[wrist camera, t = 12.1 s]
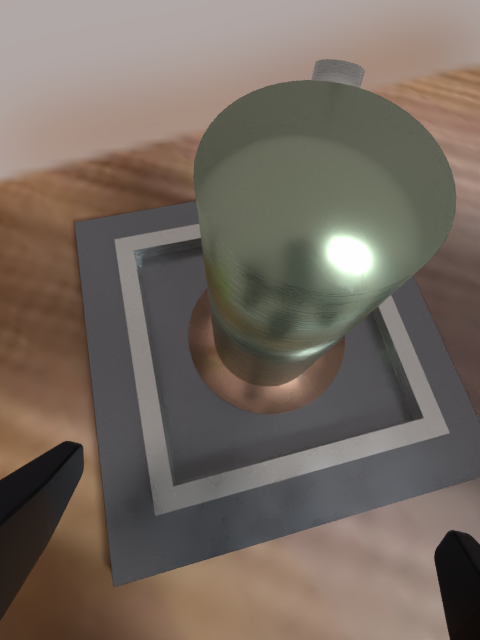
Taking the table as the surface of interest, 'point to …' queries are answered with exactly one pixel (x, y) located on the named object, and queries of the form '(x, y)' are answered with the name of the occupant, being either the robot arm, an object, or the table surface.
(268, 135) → the spout can
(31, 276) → the table surface
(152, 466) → the port plate
